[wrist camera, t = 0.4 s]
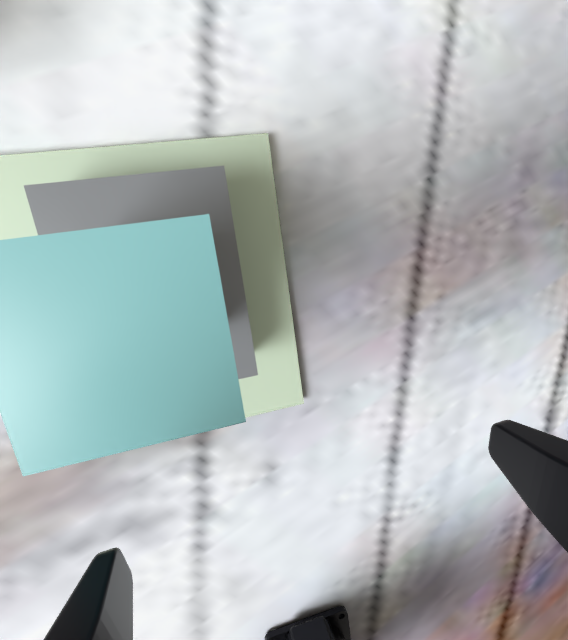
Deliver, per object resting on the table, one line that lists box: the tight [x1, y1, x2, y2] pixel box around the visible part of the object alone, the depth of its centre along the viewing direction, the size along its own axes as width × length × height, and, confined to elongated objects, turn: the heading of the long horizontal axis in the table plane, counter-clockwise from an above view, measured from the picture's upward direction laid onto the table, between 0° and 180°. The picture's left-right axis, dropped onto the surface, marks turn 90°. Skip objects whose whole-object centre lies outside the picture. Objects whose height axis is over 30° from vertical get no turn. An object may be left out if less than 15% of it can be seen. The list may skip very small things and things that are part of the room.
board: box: [0, 133, 304, 418], centre depth 20 cm, size 16×14×1 cm
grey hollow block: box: [24, 166, 258, 379], centre depth 18 cm, size 10×8×4 cm
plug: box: [0, 214, 246, 476], centre depth 14 cm, size 5×5×12 cm
